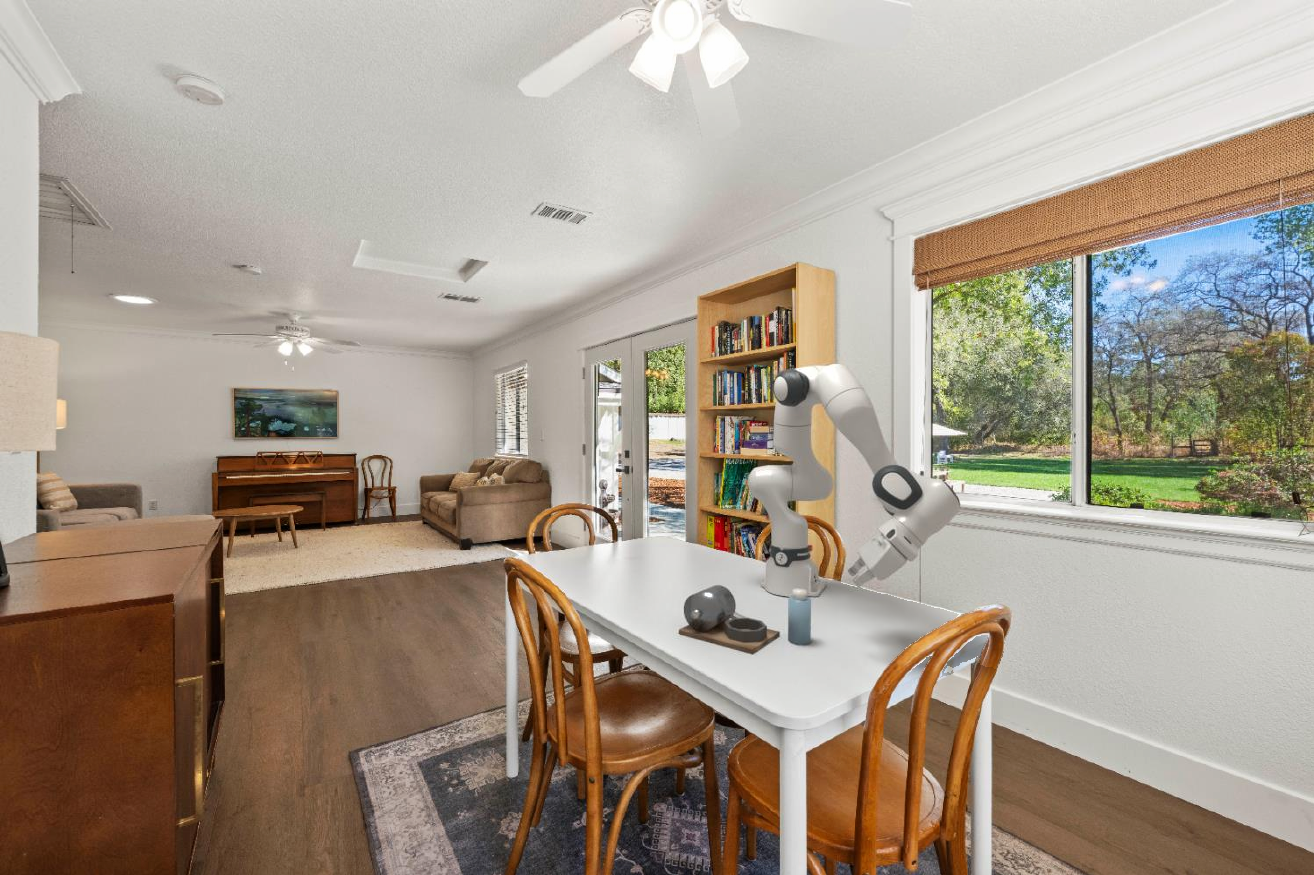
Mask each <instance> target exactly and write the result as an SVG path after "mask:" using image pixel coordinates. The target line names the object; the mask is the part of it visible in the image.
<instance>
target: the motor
mask: <svg viewBox="0 0 1314 875" xmlns="http://www.w3.org/2000/svg"><path fill="white" fill-rule="evenodd" d="M736 606H737V604H736V599H735V596H734V595H733V593H732V592H731V590H730V589H728V588H727V587H726V586H723V585H722V584H721V585H720V584H716V585H712V586H709V587H707V588H705V589H703V590H700V591H698V592H696V593H693V594H691V595H689V596H688V597H687V598H686V600H685V602H684V604H683V615H684V619H685V620H686V623H687V624H688V625H690V626H691V627H692V628H693V629H695V630H696V631H699V632H705V631H708V630H710V629H712V628H713V627H715V626H717V625H719V624H721V623H723V622H725V621H727V620H730V619H731V617H732V616H733V615H734V613H735V612H736V609H737V607H736Z"/></svg>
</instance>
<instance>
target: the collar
mask: <svg viewBox="0 0 1314 875" xmlns="http://www.w3.org/2000/svg"><path fill="white" fill-rule="evenodd" d="M740 629H749V630H740ZM767 629H768V626H767V625H766V624H765V623H764V621H762V620H759V619H755V618H750V617H747V618H732V619H731V618H730V619H729V621H727V622H725V634H726V635H727V637H728V638H729V639H732V640H736V641H739V642H743V643H746V642H760V641H762V640H763V639H765V638H766V637H767Z"/></svg>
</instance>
